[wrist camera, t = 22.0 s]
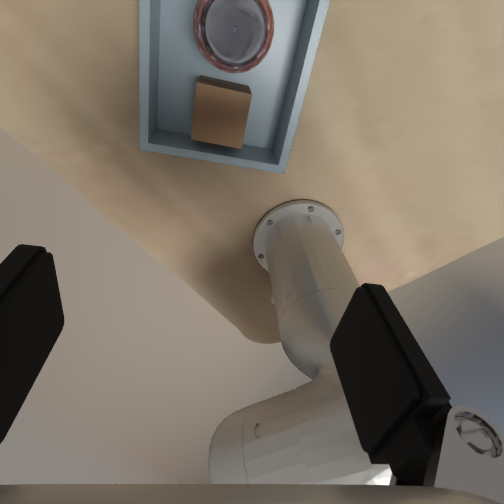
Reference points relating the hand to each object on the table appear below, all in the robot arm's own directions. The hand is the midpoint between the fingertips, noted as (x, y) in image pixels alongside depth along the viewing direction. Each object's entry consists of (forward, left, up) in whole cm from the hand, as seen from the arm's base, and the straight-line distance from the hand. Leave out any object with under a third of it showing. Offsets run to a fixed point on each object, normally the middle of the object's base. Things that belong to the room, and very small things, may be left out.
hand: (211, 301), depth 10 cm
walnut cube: (0, 0, -30) cm, 30 cm away
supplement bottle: (+7, 0, -30) cm, 31 cm away
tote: (+4, 0, -30) cm, 31 cm away
